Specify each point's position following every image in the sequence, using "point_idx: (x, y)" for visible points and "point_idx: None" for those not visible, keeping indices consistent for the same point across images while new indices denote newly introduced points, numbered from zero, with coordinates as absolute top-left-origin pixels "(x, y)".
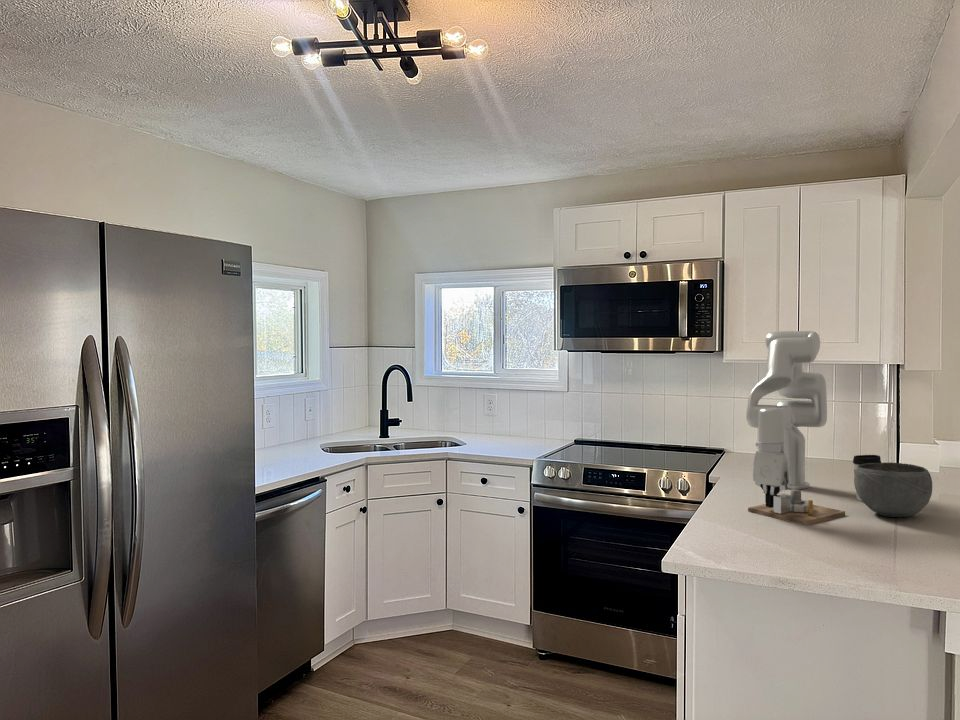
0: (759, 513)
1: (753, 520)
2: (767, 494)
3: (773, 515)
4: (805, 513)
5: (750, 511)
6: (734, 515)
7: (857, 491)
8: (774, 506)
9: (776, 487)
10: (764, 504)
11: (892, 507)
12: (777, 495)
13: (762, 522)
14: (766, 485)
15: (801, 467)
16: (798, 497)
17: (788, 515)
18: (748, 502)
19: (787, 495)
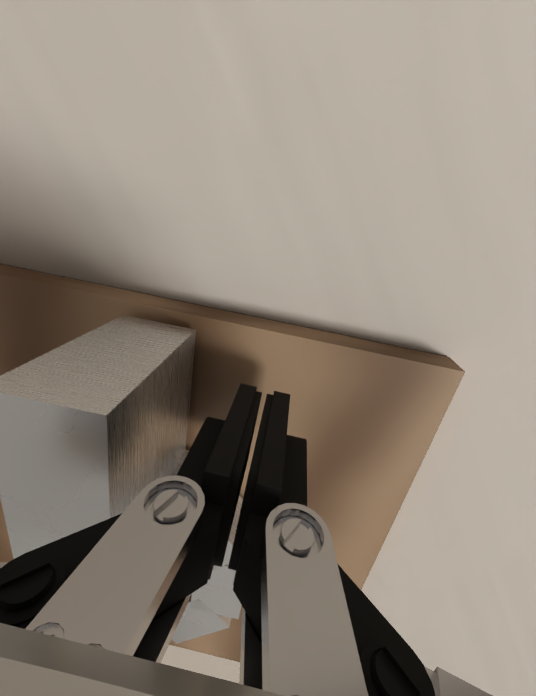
0: (334, 335)
1: (278, 37)
2: (256, 489)
3: (197, 308)
4: None
5: (424, 352)
6: (532, 99)
7: None
8: (163, 347)
9: (18, 626)
10: (377, 534)
11: None
12: (92, 473)
13: (173, 28)
14: (267, 688)
15: None
16: None
17: (78, 330)
18: (519, 585)
19: (25, 537)
